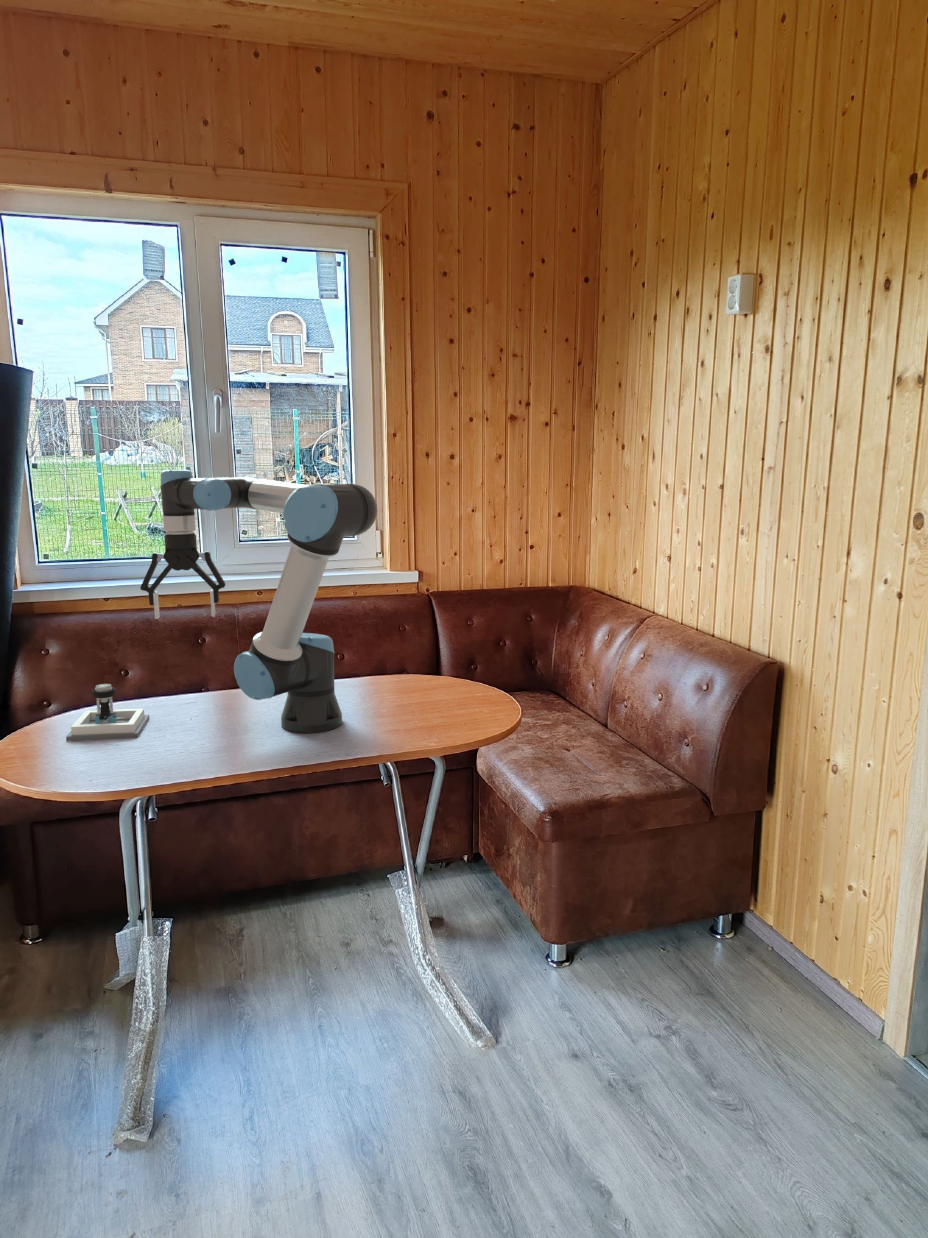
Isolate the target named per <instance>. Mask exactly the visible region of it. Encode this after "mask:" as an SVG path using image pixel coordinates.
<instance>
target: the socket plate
mask: <svg viewBox="0 0 928 1238" xmlns="http://www.w3.org/2000/svg"><path fill="white" fill-rule="evenodd" d="M113 711H114V713H116V717H117V718H118V717H119V718H121V717H124V718H123V719H117V721H121V722H119V723H109V724H95V716H96V712H97V709H96V710H85V711H84V712H83V713H82V714H81V716H79V717H78V718H77V719H76V721H75V722H74V723H73V724H72V725H71V726H70V732H69V733H68V734H67V735H66V736H65V738H66V741H67V742H68V741H70V742H71V741H86V740H87V741H89V740H110V739H111V740H112V739H131V738H132V739H133V738H135V739H137V738H139V736H140V734H141V733H142V731H143V730H144V728H145V727H146V725H147V723H148V722H149V720H150V714H145V709H144V708H130V709H129V708H127V709H113ZM100 713H101V711H100ZM122 721H124V722H122Z"/></svg>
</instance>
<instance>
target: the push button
mask: <svg viewBox="0 0 928 1238" xmlns="http://www.w3.org/2000/svg"><path fill="white" fill-rule="evenodd" d="M91 694H92V697H93V698H95V699H96V710H97V712H96V716H95V724H109V723H119V722H121V721H117V719H123V718H124V717H121V718H119V717H118V718H117V717H116V713H114V711H113V710H114V703H113V697H114V696H115V695H116V687H114V686H112V684H110V683H101V684H97V685H95V688H93V689H91ZM100 711H101V713H100ZM122 722H124V721H122Z"/></svg>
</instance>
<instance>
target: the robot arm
mask: <svg viewBox="0 0 928 1238" xmlns="http://www.w3.org/2000/svg"><path fill="white" fill-rule="evenodd" d="M159 487H160V495H161V505H162V506H161V507H162V523H163V525H162V526H163V532H164V533H165V534H164V550H165V551H164V553H159V552H157V551H155V552H154V553H152V555H151V563H150V565H149V568H148V569H147V572H146V573H145V576H144V579H143V581H142V583H141V586H140V590H141V591H143V592H144V591H145V592H147V593H148V603H149V605H150V606H153V609H154V610H153V611H154V620H156V619H157V620H159V618H160V615H161V614H160V605H159V604H160V603H159V602H160V601H159V591H155V590H156V589H157V588H158V586H159V585H160V584H161V583H162V581H163V580H164V579H165V578H166V576H167V575H168V574H169V573H170V572H171V571H172V570H173V571H182V570H183V571H189V570H193V572H195V573H196V574H197V575H198V576H199V577H200V578H202V580H203V581H204V583H206V584H207V585H208V586H209V587H210V588H211V589H210V590H209V596H210V598H209V599H210V613H211V617H216V604H218V603H219V601H220V593H219V591H220V589H223V588H225V586H226V582H225V580H224V579H223V577H222V575H221V573H220V571H219V570H218V568H217V566H216V564H215V563H214V561H213V560H212V556H211V555H212V554H211V551H210V550H206V551H203V552H199V550H198V545H197V534H196V533H195V531H196V516H195V515H196V514H195V513H196V512H195V510H203V511H219V510H224V509H237V508H238V509H240V508H243V509H244V508H245V509H252V510H261V511H267V512H272V513H280V514H282V517H283V518H282V519H283V520H285V522H284V523H283V525H284V528H285V530H286V532H287V533H286V534H287V535H286V537H287V539H288V541H289V543H290V548H289V551H288V554H287V557H286V559H285V560H286V561H285V564H284V567H283V569H282V572H281V575H280V578H279V582H278V584H277V586H276V587H277V588H276V591H275V593H274V596H273V598H272V599H273V600H272V602H271V605H270V608H269V611H268V614H267V618H266V621H265V624H264V627H263V630H262V631H260V632H257V633H256V634H255V635H254V636H253V638H252V641H251V645H250V647H249V650H248V651H245V650H244V651H243V652H241V653H240V654H238V655H237V657H236V658H235V661H234V663H233V672H234V677H235V680H236V683H237V685H238V687H239V688H240V690H241V691H242V692H243V694H244V695H246V696H247V697H248V698H250V699H252V700H255V701H259V700H260V701H261V700H262V701H263V700H266V699H267V700H268V699H272V698H274V697H277V696H279V695H283V694H287V696H286V700H285V703H284V706H283V709H282V712H281V716H280V717H281V718H280V726H281V728H283V729H284V730H286V731H289V732H294V733H301V734H304V733H306V734H309V733H311V734H312V733H313V734H314V733H324V732H326V731H327V732H328V731H331V730H334V729H337V728H339V727H340V726H341V725H342V724H343V713H342V710H341V707H340V705H339V702H338V699H337V696H336V694H335V693H336V692H335V649H334V641H333V638H332V637H330V636H329V635H325V634H321V633H320V634H319V633H312V632H311V633H310V632H304V629H305V627H306V625H307V621H308V618H309V615H310V612H311V610H312V607H313V604H314V601H315V598H316V596H317V592H318V591H319V587H320V585H321V581H322V579H323V575H324V572H325V570H326V567H327V564H328V561H329V559H330V558H331V557H335V556H337V555H338V553H339V551H340V548H341V546H342V543H343V540H344V538H350V537H355V536H359V535H362V534H364V533H366V532H367V531H368V530H370V529H371V527H372V526H373V525H374V523H375V522H376V519H377V515H378V504H377V500H376V498H375V497H374V495H373V493H372V491H370V490H369V489H367V488H366V487H364V486H362V485H360V484H355V483H342V484H341V483H340V484H339V483H338V484H337V483H335V484H321V483H314V484H309V485H308V484H301V483H294V482H293V483H292V482H285V481H276V480H271V479H270V480H269V479H268V480H267V479H264V478H262V477H258V476H257V477H256V476H247V477H246V476H245V477H196V478H195V477H193V472H192V471H191V470H190V469H164V470H162V471H161V473H160V486H159ZM199 558H201V559H202V561H204V562H205V563H206V565H207V566H208V568H209V570H210V572H211V573H212V575H213V578H215V580H216V582H217V583H216V582H215V581H214V579H212V578H211V577H210V576H209V574H207V573H206V572H205V571H204V569H202V568H201V566H200V565H199V564H198V560H199ZM162 559H164V561H165V562H166V563H167V565H166V567H165V568H164V569H163V571H162V572H161V573H160V574H159V575H158V577H156V579H155V580H154V582H152V584H151V586H149V584H150V582H151V579H152V578H153V575H154V573H155V572H156V571H155V570H156V568H157V566H158V563H160V562H161V561H162Z"/></svg>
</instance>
